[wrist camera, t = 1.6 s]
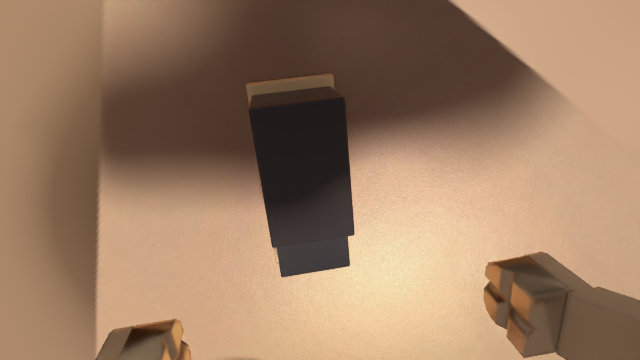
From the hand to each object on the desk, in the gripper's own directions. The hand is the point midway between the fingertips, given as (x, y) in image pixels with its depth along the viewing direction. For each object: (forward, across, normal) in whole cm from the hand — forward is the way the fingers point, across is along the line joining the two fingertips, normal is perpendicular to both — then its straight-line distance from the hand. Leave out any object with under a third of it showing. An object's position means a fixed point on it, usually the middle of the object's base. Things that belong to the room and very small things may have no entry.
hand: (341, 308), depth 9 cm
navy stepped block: (+13, 0, +1) cm, 13 cm away
